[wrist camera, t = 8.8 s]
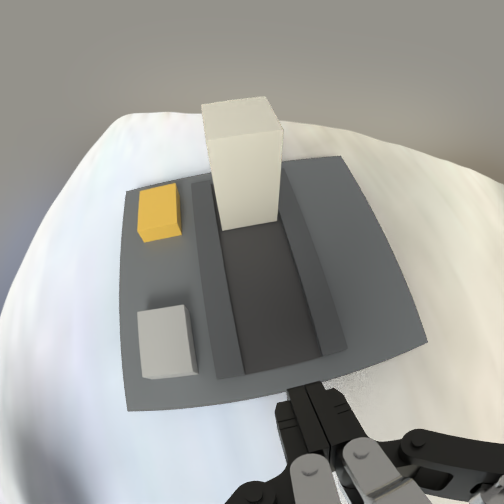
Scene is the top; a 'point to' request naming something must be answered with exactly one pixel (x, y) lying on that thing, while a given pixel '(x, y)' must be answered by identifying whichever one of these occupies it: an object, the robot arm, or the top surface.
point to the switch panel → (256, 291)
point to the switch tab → (244, 159)
